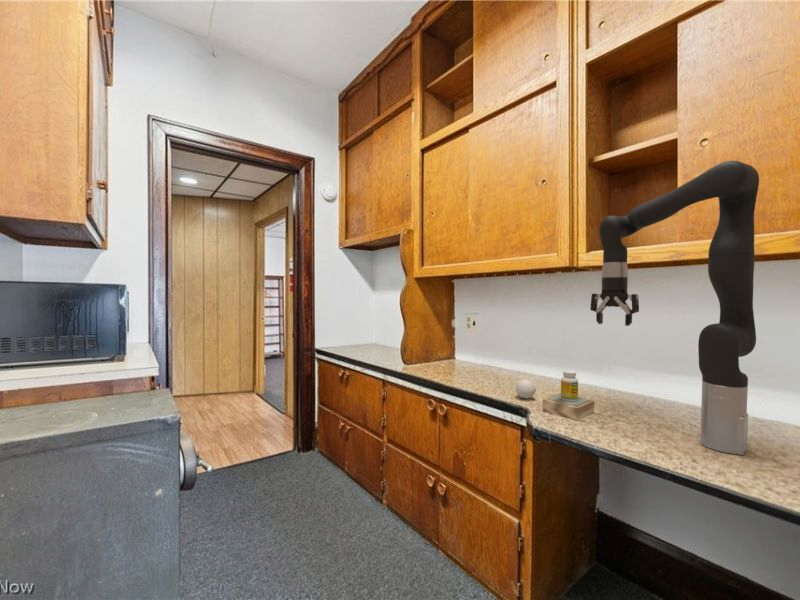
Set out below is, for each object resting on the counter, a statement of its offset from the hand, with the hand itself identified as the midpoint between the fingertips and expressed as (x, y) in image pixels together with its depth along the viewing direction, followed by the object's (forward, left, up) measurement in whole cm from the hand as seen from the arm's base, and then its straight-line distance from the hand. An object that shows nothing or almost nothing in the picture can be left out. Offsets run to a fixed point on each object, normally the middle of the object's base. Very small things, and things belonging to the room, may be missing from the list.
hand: (613, 324), depth 127 cm
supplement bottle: (+10, +10, -26) cm, 30 cm away
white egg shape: (+28, +6, -30) cm, 42 cm away
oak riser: (+10, +10, -30) cm, 33 cm away
